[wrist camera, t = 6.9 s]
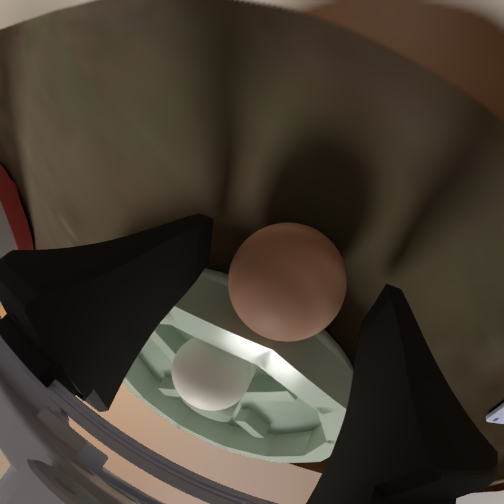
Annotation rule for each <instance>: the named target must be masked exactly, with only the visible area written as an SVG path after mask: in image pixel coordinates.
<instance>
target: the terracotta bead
mask: <svg viewBox="0 0 504 504" xmlns="http://www.w3.org/2000/svg"><path fill="white" fill-rule="evenodd" d="M346 288H347V274H346V269H345V265H344V262H343V259H342V257H341V255H340V253H339V251H338V249H337V248H336V247H335V245H334V244H333V243H332V242H331V241H330V240H329V239H328V238H327V237H326V236H325V235H323V234H322V233H321V232H319V231H318V230H316V229H314V228H312V227H309V226H306V225H303V224H298V223H287V222H286V223H277V224H273V225H269V226H267V227H264V228H262V229H260V230H258V231H257V232H255V233H253V234H252V235H251V236H249V237H248V238H247V239H246V240H245V241H244V242H243V244H242V245H241V246H240V247H239V249H238V250H237V252H236V254H235V255H234V258H233V260H232V263H231V266H230V269H229V275H228V289H229V295H230V299H231V302H232V305H233V307H234V309H235V311H236V313H237V315H238V316H239V318H240V319H241V320H242V321H243V322H244V323H245V324H246V325H247V326H248V327H249V328H250V329H251V330H253V331H254V332H256V333H257V334H259V335H261V336H263V337H265V338H268V339H272V340H276V341H286V342H289V341H298V340H302V339H306V338H309V337H311V336H313V335H315V334H317V333H319V332H320V331H322V330H323V329H324V328H325V327H327V326H328V325H329V324H330V323H331V322H332V321H333V319H334V318H335V317H336V315H337V314H338V312H339V310H340V309H341V306H342V304H343V302H344V298H345V294H346Z"/></svg>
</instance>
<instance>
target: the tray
mask: <svg viewBox="0 0 504 504" xmlns="http://www.w3.org/2000/svg"><path fill="white" fill-rule="evenodd" d="M194 337H196V338H198V339H200V340H202V341H205V342H207V343H209V344H211V345H213V346H215V347H217V348H220V349H222V350H224V351H226V352H228V353H231V354H233V355H235V356H238V357H240V358H242V359H244V360H247V361H249V364H250V368H251V379H250V384H249V387H248V389H247V391H246V393H245V394H244V396H243V397H242V398H241V399H240V400H239V401H238V402H237V403H235V404H234V405H232V406H230V407H228V408H226V409H222V410H217V411H208V410H202V409H199V408H196V407H194V406H192V405H190V404H189V403H187V402H186V401H185V400H184V399H183V398H182V397H181V396H180V395H179V393H178V392H177V390H176V388H175V386H174V384H173V380H172V373H171V370H172V363H173V359H174V357H175V355H176V353H177V351H178V350H179V349H180V347H181V346H182V345H183V344H185V343H186V342H187V341H189V340H190V339H192V338H194ZM353 370H354V369H353V367H352V365H351V362H350V360H349V359H348V357H347V356H346V354H345V353H344V351H343V350H342V348H341V347H340V346H339V345H338V344H337V342H336V341H335V340H334V339H333V338H332V337H331V336H330V335H329V334H328V333H327V332H326V331H325V330H324V329H323V330H322V331H320V332H319V333H317V334H315V335H313V336H311V337H309V338H306V339H302V340H298V341H289V342H286V341H276V340H272V339H268V338H265V337H263V336H261V335H259V334H257V333H256V332H254V331H253V330H251V329H250V328H249V327H248V326H247V325H246V324H245V323H244V322H243V321H242V320H241V319H240V318H239V316H238V315H237V313H236V311H235V309H234V307H233V305H232V302H231V299H230V295H229V289H228V274H225V273H223V272H219V271H215V270H211V269H207V268H205V269H204V270H203V272H202V273H201V275H200V276H199V278H198V279H197V281H196V282H195V283H194V284H193V286H192V287H191V288H190V289H189V290H188V291H187V293H186V294H185V295H184V296H183V297H182V298H181V299H180V300H179V302H178V303H177V304H176V305H175V306H174V307H173V308H172V310H171V311H170V312H169V313H168V314H167V315H166V316H165V318H164V319H163V320H162V321H161V322H160V324H159V325H158V326H157V327H156V329H155V330H154V332H153V333H152V335H151V336H150V338H149V339H148V341H147V342H146V344H145V345H144V347H143V348H142V350H141V351H140V353H139V355H138V356H137V358H136V359H135V361H134V363H133V364H132V366H131V368H130V369H129V371H128V373H127V375H126V377H125V378H124V380H123V383H124V384H125V385H126V386H127V387H128V388H129V389H130V391H131V392H132V393H134V395H135V396H136V397H137V398H138V399H140V400H141V401H142V402H143V403H145V404H146V405H147V406H149V407H150V408H151V409H153V410H154V411H155V412H157V413H158V414H159V415H161V416H162V417H163V418H165V419H166V420H168V421H169V422H170V423H172V424H173V425H175V426H176V427H178V428H179V429H182V430H183V431H185V432H187V433H189V434H191V435H193V436H195V437H197V438H199V439H201V440H203V441H206V442H208V443H210V444H212V445H214V446H217V447H219V448H221V449H224V450H226V451H229V452H233V453H237V454H240V455H244V456H248V457H252V458H256V459H261V460H266V461H270V462H276V463H284V462H285V463H297V462H320V461H322V460H324V459H326V458H328V457H330V455H331V453H332V450H333V448H334V445H335V443H336V440H337V437H338V435H339V432H340V429H341V426H342V423H343V420H344V416H345V413H346V410H347V406H348V402H349V397H350V391H351V384H352V378H353Z"/></svg>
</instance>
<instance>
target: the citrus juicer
mask: <svg viewBox="0 0 504 504" xmlns="http://www.w3.org/2000/svg"><path fill="white" fill-rule="evenodd" d="M12 250H34V249H33V242H32V237H31V233H30V229H29V226H28V222H27V219H26V216H25V213H24V210H23V207H22V205H21V202H20V200H19V192H18V189H17V186H16V184H15V183H14V181H12V180H10V178H9V176H8V174H7V172H6V171H5V169H4V168H3V167H2V166H1V164H0V258H2V257H3V256H4V255H6V254H7V253H8V252H10V251H12ZM1 305H2V304H1V302H0V306H1Z"/></svg>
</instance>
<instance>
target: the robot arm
mask: <svg viewBox="0 0 504 504" xmlns="http://www.w3.org/2000/svg"><path fill="white" fill-rule="evenodd" d="M213 220H214V219H213V218H210V217H207V216H205V215H202V214H196V215H192V216H188V217H185V218H182V219H179V220H176V221H173V222H170V223H167V224H164V225H161V226H158V227H155V228H152V229H149V230H145V231H142V232H139V233H136V234H132V235H129V236H126V237H122V238H118V239H114V240H110V241H105V242H101V243H96V244H89V245H83V246H77V247H70V248H60V249H47V250H12V251H10V252H8V253H7V254H6V255H4V256H3V257H2V258H0V302H1V304H2V305H3V307H4V309H5V311H6V313H7V314H6V315H5V316H4V317H3V318H1V316H0V449H1V451H2V452H3V454H4V455H5V457H6V458H7V460H8V461H9V463H10V464H11V466H10V467H9V469H8V470H7V472H6V473H5V474H4V475H3V477H2V478H1V480H0V504H165V503H163V502H161V501H159V500H157V499H155V498H153V497H151V496H149V495H148V494H146V493H144V492H142V491H140V490H139V489H137V488H135V487H133V486H132V485H130V484H129V483H127V482H125V481H124V480H122V479H121V478H119V477H117V476H116V475H114V474H113V473H111V472H110V471H108V470H107V469H105V468H104V467H103V465H104V464H105V462H106V461H107V460H108V457H107V455H105V454H104V453H103V452H101V451H100V450H99V449H97V448H96V447H94V446H93V445H92V444H91V443H90V442H88V441H87V440H86V439H84V438H83V437H82V436H81V435H79V434H78V433H77V432H76V431H75V430H74V429H72V428H71V427H70V426H69V422H68V421H69V418H68V416H69V417H70V418H71V419H73V420H74V421H75V422H76V423H77V424H79V425H80V426H81V427H82V428H84V429H85V430H86V431H87V432H88V433H90V434H91V435H92V436H94V437H95V438H96V439H98V440H99V441H100V442H102V443H103V444H104V445H106V446H107V447H108V448H110V449H111V450H113V451H114V452H116V453H117V454H119V455H120V456H122V457H123V458H125V459H126V460H128V461H129V462H131V463H133V464H134V465H136V466H137V467H139V468H140V469H142V470H144V471H146V472H148V473H149V474H151V475H152V476H154V477H156V478H158V479H160V480H161V481H163V482H165V483H167V484H169V485H171V486H173V487H175V488H177V489H179V490H181V491H183V492H185V493H187V494H189V495H192V496H194V497H196V498H198V499H200V500H203V501H205V502H208V503H210V504H277V503H274V502H270V501H267V500H263V499H260V498H257V497H254V496H251V495H248V494H245V493H243V492H240V491H237V490H234V489H232V488H229V487H226V486H224V485H221V484H219V483H217V482H214V481H212V480H209V479H207V478H205V477H203V476H201V475H198V474H196V473H194V472H192V471H190V470H188V469H186V468H184V467H182V466H180V465H178V464H176V463H174V462H172V461H170V460H168V459H166V458H164V457H163V456H161V455H159V454H157V453H156V452H154V451H152V450H150V449H149V448H147V447H146V446H144V445H142V444H140V443H139V442H137V441H136V440H134V439H133V438H131V437H130V436H128V435H126V434H125V433H123V432H122V431H120V430H119V429H118V428H116V427H115V426H113V425H112V424H110V423H109V422H107V421H106V420H105V419H103V418H102V417H101V416H99V415H98V414H97V413H95V412H94V411H93V410H92V409H90V408H89V407H88V406H86V405H85V404H84V403H83V402H82V401H80V400H79V399H78V398H77V397H75V395H77V396H78V397H80V398H81V399H82V400H83V401H86V402H87V403H88V404H90V405H91V406H92V407H94V408H95V409H96V410H97V411H99V412H103V411H107V410H109V408H110V406H111V404H112V402H113V400H114V398H115V395H116V393H117V392H118V390H119V387H120V385H121V383H122V382H123V380H124V378H125V377H126V375H127V373H128V371H129V369H130V368H131V366H132V364H133V363H134V361H135V359H136V358H137V356H138V355H139V353H140V351H141V350H142V348H143V347H144V345H145V344H146V342H147V341H148V339H149V338H150V336H151V335H152V333H153V332H154V330H155V329H156V327H157V326H158V325H159V324H160V322H161V321H162V320H163V319H164V318H165V316H166V315H167V314H168V313H169V312H170V311H171V310H172V308H173V307H174V306H175V305H176V304H177V303H178V302H179V300H180V299H181V298H182V297H183V296H184V295H185V294H186V293H187V291H188V290H189V289H190V288H191V287H192V286H193V284H194V283H195V282H196V281H197V279H198V278H199V276H200V275H201V273H202V272H203V270H204V269H205V267H206V266H207V264H208V262H209V255H210V246H211V237H212V228H213ZM67 415H68V416H67ZM486 421H487V422H492V423H500V424H504V403H502V404H501V405H500V406H499V407H497V408H496V409H495V410H493V411H492V412H491V413H489V414H488V415H487V416H486ZM497 468H498V452H497V451H496V450H495V449H494V447H493V446H492V445H491V444H490V443H489V442H488V440H487V439H486V438H485V437H484V436H483V435H482V433H481V432H480V431H479V430H478V428H477V427H476V425H475V424H474V423H473V421H472V420H471V419H470V417H469V416H468V414H467V413H466V412H465V410H464V409H463V407H462V406H461V404H460V403H459V401H458V399H457V398H456V396H455V395H454V393H453V392H452V390H451V388H450V387H449V385H448V383H447V381H446V380H445V378H444V376H443V374H442V372H441V371H440V369H439V367H438V365H437V363H436V361H435V359H434V357H433V355H432V353H431V351H430V349H429V347H428V345H427V343H426V341H425V339H424V337H423V335H422V332H421V330H420V328H419V326H418V324H417V321H416V319H415V317H414V315H413V313H412V310H411V308H410V306H409V304H408V302H407V300H406V298H405V296H404V294H403V292H402V290H401V289H399V288H396V287H394V286H391V285H389V284H386V285H385V287H384V288H383V290H382V292H381V293H380V295H379V297H378V298H377V300H376V302H375V303H374V305H373V306H372V308H371V309H370V311H369V313H368V314H367V316H366V317H365V319H364V320H363V322H362V326H361V330H360V334H359V338H358V343H357V348H356V355H355V363H354V370H353V378H352V384H351V391H350V397H349V402H348V406H347V410H346V413H345V416H344V420H343V423H342V426H341V429H340V432H339V435H338V437H337V440H336V443H335V445H334V448H333V450H332V453H331V455H330V458H329V460H328V462H327V464H326V467H325V469H324V471H323V473H322V475H321V477H320V479H319V481H318V483H317V485H316V487H315V489H314V491H313V493H312V494H311V496H310V498H309V500H308V501H307V503H306V504H456V498H458V497H461V496H464V495H467V494H470V493H472V492H475V491H478V490H480V489H482V488H484V487H486V486H488V485H490V484H491V483H493V482H494V481H495V480H496V478H497Z"/></svg>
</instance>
